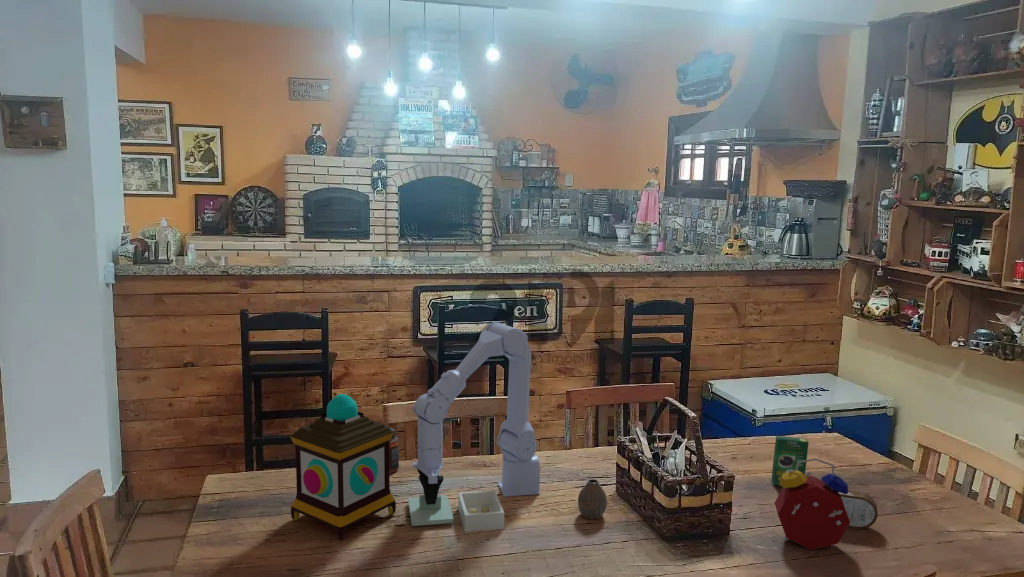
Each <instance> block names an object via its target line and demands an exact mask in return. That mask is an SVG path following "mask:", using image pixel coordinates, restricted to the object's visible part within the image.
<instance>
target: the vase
mask: <svg viewBox="0 0 1024 577" xmlns="http://www.w3.org/2000/svg"><path fill="white" fill-rule="evenodd" d="M578 493H579V494H578V496H577V497H578V498H577V506H578V510H579V512H580V513H581V515H582V516H583V517H584V518H586V519H588V520H597V519H598V520H599V519H600V518H602V516H604V515H605V512H606V509H607V507H608V498H607V494H606V491H605V489H603V487H602V486H601V484H600V482H599V480H597V479H595V478H591V479H588V481H587V483H586V484H585V485H584V486H583V487H582V488H581V489H580V491H579V492H578Z"/></svg>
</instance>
